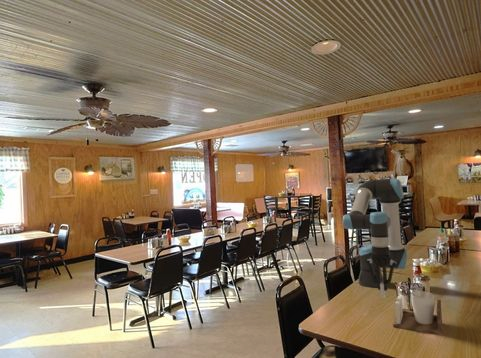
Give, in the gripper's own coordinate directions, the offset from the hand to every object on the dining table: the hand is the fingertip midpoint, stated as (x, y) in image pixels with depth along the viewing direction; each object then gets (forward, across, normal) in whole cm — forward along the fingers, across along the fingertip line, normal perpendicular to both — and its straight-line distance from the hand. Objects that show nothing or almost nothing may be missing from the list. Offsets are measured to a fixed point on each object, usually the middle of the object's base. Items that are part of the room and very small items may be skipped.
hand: (383, 297), depth 150 cm
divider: (+9, +6, 0) cm, 11 cm away
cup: (+10, +16, +3) cm, 19 cm away
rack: (+11, +14, +1) cm, 17 cm away
